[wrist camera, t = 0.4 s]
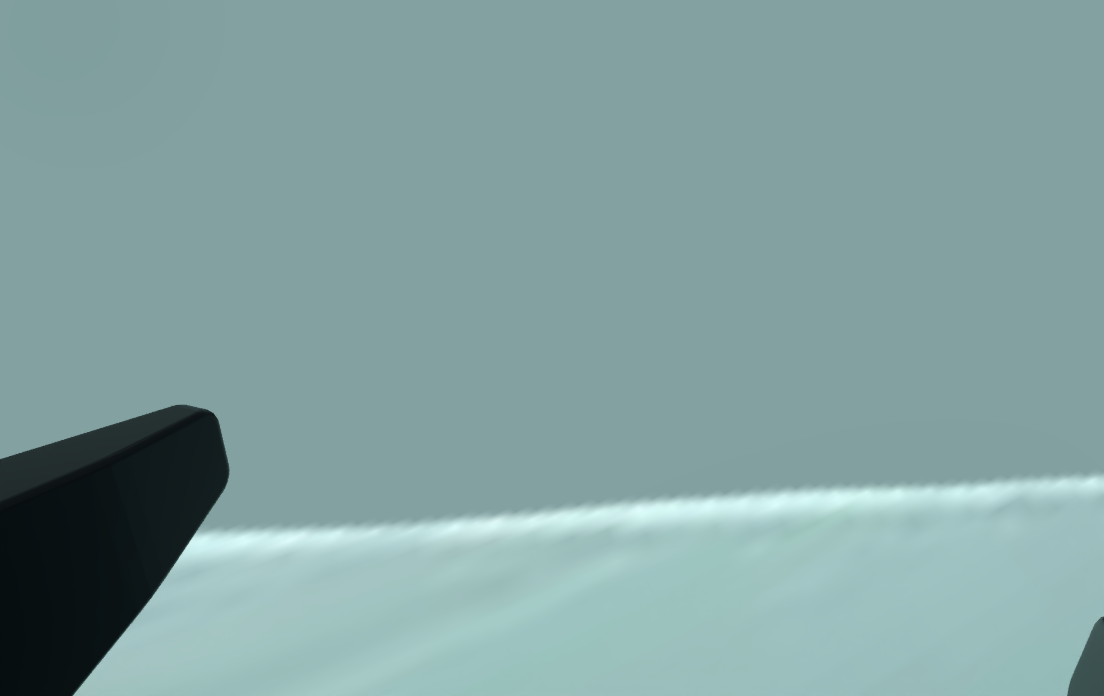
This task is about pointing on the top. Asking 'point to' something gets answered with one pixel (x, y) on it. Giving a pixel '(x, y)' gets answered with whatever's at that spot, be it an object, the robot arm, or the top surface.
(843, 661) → the top surface
